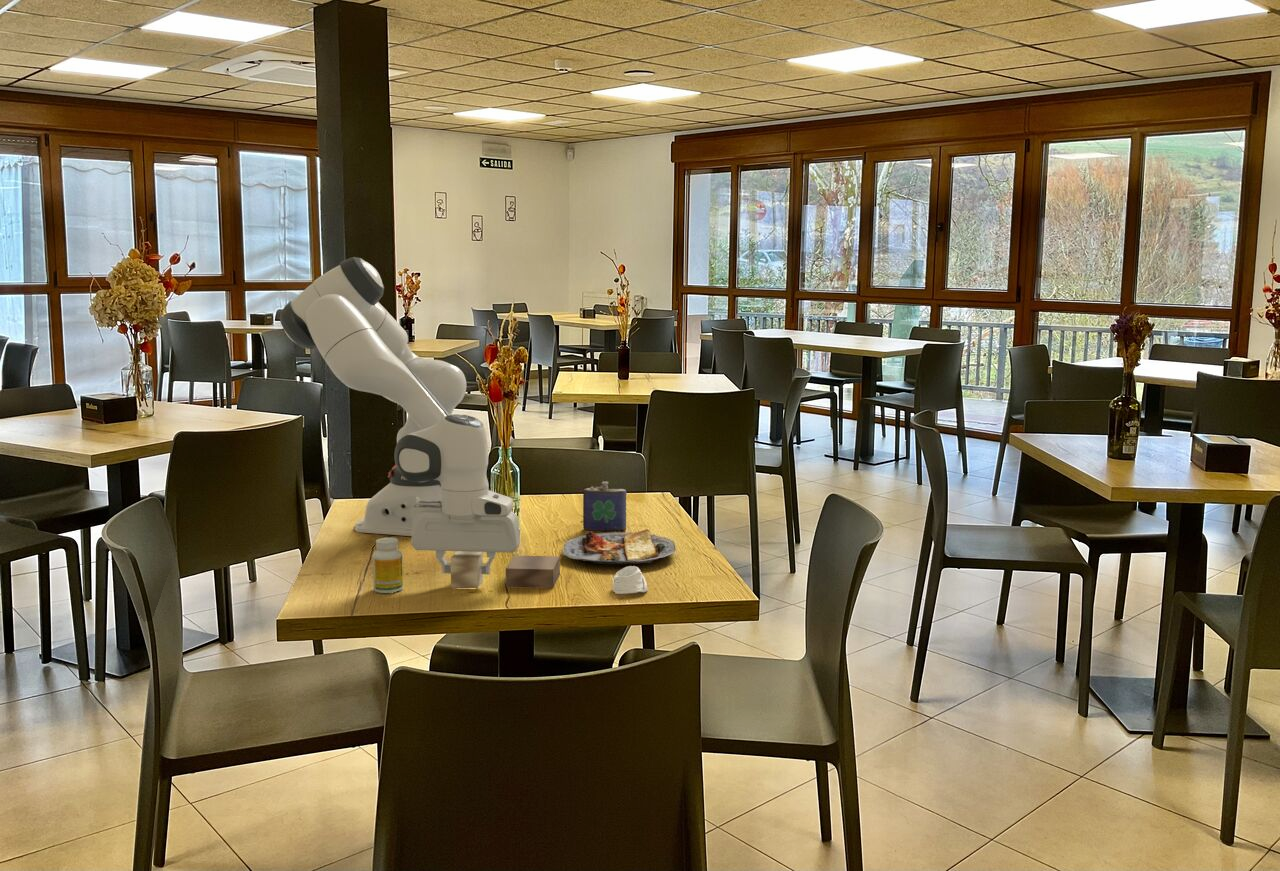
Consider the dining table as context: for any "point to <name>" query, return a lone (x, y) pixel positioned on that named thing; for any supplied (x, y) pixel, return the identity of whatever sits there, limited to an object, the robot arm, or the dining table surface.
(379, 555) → the supplement bottle
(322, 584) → the dining table surface
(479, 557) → the tan piece
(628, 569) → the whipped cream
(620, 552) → the food plate
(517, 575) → the walnut block
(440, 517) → the robot arm
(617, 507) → the flask
